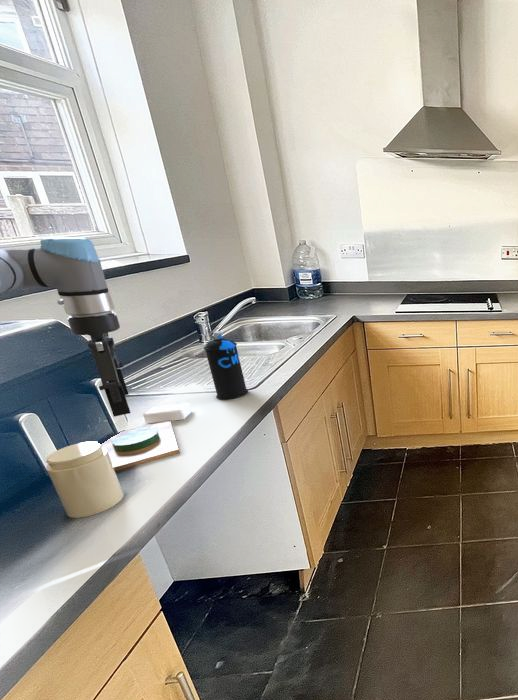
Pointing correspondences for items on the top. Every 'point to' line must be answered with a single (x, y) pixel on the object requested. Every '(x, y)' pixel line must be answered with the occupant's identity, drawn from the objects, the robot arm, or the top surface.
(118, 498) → the jar
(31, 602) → the top surface
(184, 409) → the soap
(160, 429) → the white flat board
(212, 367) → the aerosol can
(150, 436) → the lid
